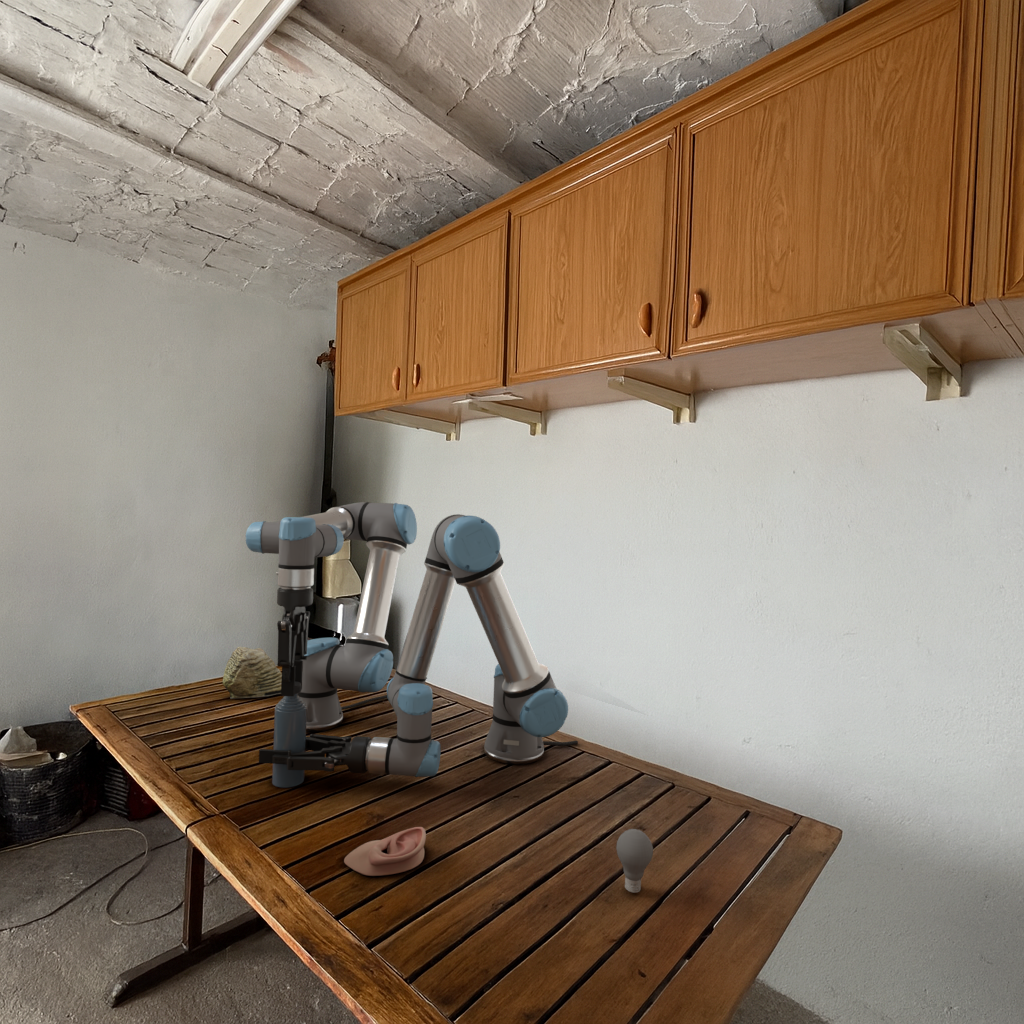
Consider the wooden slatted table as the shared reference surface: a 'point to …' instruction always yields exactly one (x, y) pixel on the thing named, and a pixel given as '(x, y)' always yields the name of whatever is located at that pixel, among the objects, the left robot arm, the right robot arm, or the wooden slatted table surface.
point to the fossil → (251, 674)
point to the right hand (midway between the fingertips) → (267, 749)
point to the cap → (297, 687)
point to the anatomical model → (389, 853)
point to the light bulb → (634, 857)
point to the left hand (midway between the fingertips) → (291, 692)
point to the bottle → (289, 738)
